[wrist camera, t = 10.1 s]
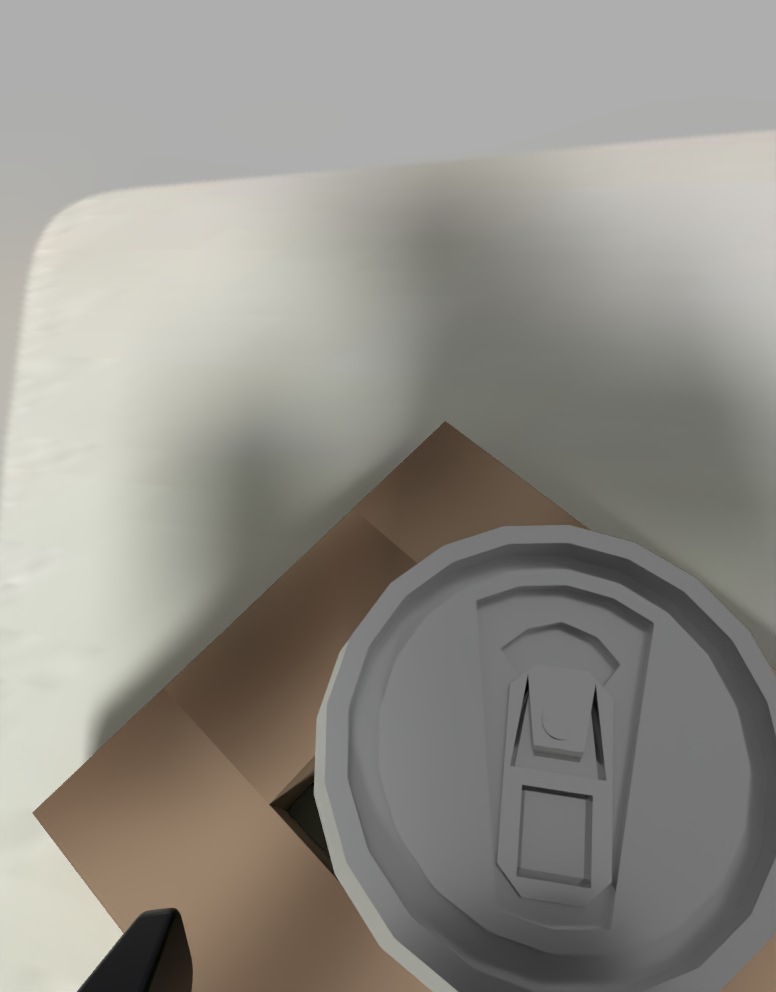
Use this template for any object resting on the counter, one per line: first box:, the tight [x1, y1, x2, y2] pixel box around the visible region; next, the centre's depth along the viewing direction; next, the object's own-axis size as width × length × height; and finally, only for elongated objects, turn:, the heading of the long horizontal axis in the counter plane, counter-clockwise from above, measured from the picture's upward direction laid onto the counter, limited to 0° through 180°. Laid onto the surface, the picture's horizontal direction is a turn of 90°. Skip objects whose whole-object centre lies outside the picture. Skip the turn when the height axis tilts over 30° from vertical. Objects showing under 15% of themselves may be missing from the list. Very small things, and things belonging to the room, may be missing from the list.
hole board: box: [33, 421, 776, 992], centre depth 17 cm, size 14×14×2 cm
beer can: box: [314, 525, 776, 992], centre depth 13 cm, size 5×5×12 cm
